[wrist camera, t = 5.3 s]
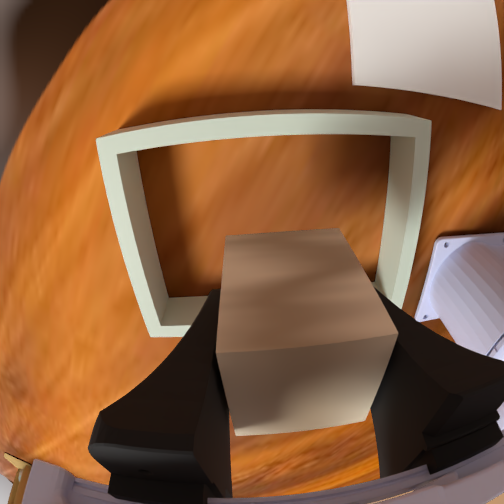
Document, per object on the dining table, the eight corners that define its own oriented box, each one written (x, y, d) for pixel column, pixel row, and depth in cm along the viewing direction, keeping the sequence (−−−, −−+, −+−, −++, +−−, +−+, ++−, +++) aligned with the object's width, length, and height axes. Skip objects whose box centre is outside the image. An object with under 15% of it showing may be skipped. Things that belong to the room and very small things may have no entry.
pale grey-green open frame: (405, 113, 16) (431, 120, 13) (384, 291, 22) (399, 316, 19) (117, 129, 16) (95, 138, 13) (159, 308, 22) (150, 337, 20)
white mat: (488, -12, 10) (491, -13, 9) (497, 109, 15) (501, 110, 14) (337, -60, 10) (339, -62, 10) (352, 85, 15) (354, 85, 14)
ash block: (338, 228, 12) (398, 333, 7) (330, 313, 14) (364, 420, 9) (225, 236, 12) (215, 353, 7) (236, 321, 14) (236, 435, 9)
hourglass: (70, 492, 63) (59, 550, 42) (12, 465, 58) (-3, 520, 37) (62, 478, 53) (47, 550, 31) (-6, 443, 48) (-27, 510, 26)
